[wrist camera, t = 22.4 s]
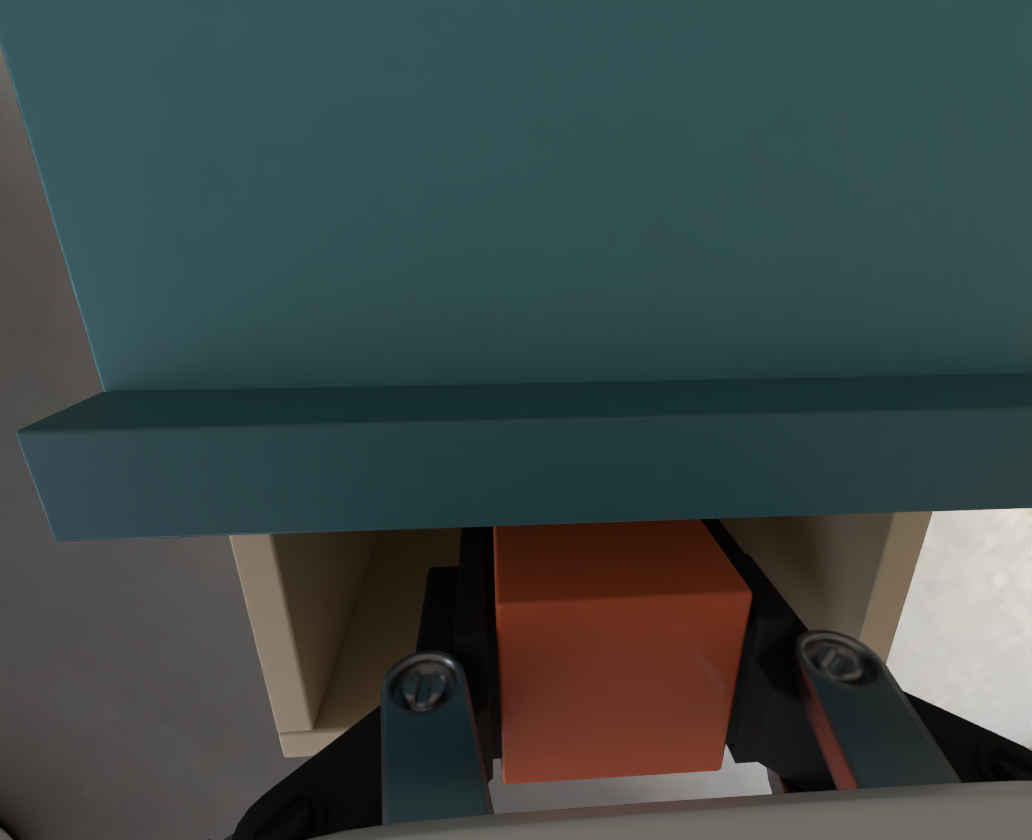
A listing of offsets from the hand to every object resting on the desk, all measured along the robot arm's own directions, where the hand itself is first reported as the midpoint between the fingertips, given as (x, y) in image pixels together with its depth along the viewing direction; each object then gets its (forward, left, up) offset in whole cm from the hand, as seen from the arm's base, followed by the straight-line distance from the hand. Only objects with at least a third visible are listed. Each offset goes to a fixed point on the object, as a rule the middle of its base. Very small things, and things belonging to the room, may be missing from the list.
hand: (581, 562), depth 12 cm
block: (0, 0, 0) cm, 0 cm away
